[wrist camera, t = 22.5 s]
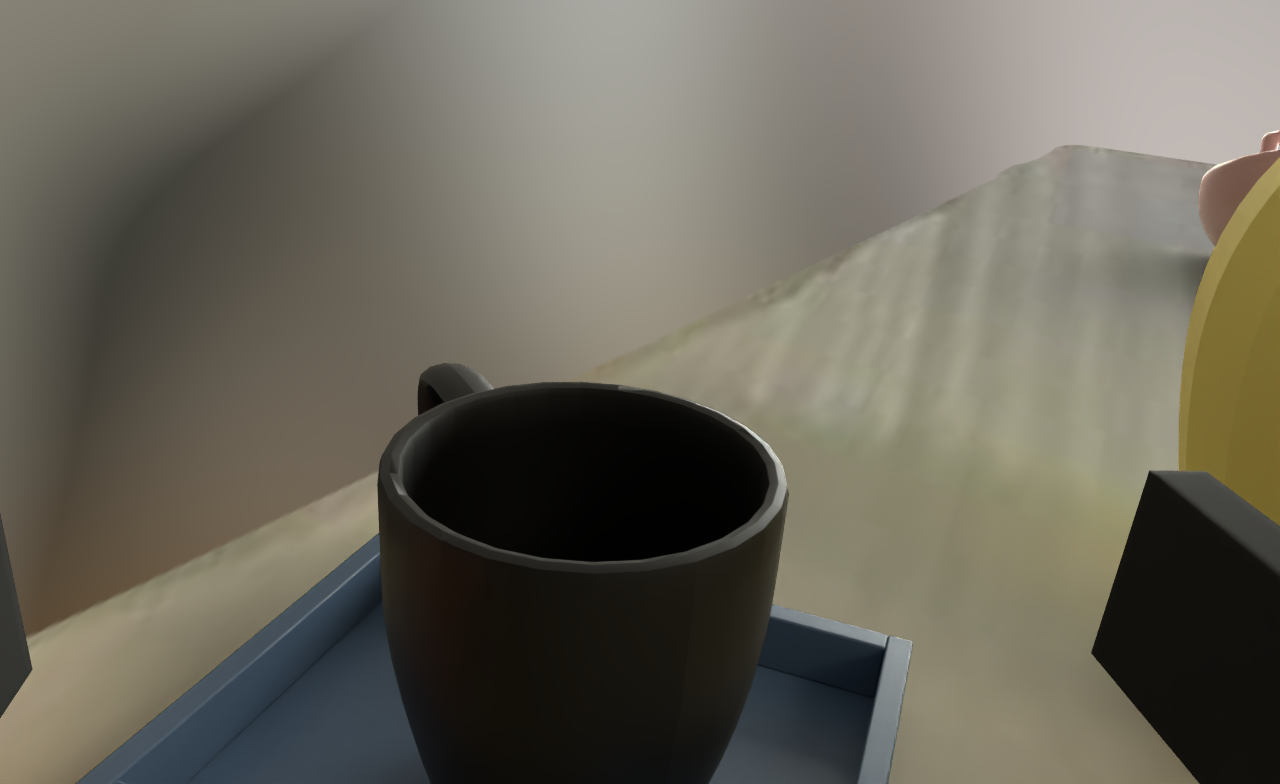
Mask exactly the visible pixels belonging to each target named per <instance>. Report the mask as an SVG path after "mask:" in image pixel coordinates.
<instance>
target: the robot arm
mask: <svg viewBox="0 0 1280 784" xmlns="http://www.w3.org/2000/svg"><path fill="white" fill-rule="evenodd" d="M1091 653H1092V655H1093V656H1094V657H1095V658H1096V659H1097V661H1098V662H1099V663H1100V664H1101V665H1102V667H1103V668H1104V669H1105V670H1106V671H1107V673H1108V674H1109V675H1110V676H1111V677H1112V679H1113V680H1114V681H1115V682H1116V683H1117V685H1118V686H1119V687H1120V688H1121V690H1122V691H1123V692H1124V693H1125V694H1126V696H1127V697H1128V698H1129V699H1130V700H1131V702H1132V703H1133V704H1134V705H1135V706H1136V708H1137V709H1138V710H1139V711H1140V712H1141V714H1142V715H1143V716H1144V717H1145V718H1146V720H1147V721H1148V722H1149V723H1150V724H1151V726H1152V727H1153V728H1154V729H1155V730H1156V732H1157V733H1158V734H1159V735H1160V736H1161V738H1162V739H1163V740H1164V741H1165V743H1166V744H1167V745H1168V746H1169V747H1170V749H1171V750H1172V751H1173V752H1174V753H1175V755H1176V756H1177V757H1178V758H1179V759H1180V761H1181V762H1182V763H1183V764H1184V765H1185V767H1186V768H1187V769H1188V770H1189V771H1190V773H1191V774H1192V775H1193V776H1194V777H1195V779H1196V780H1197V781H1198V782H1199V783H1200V784H1280V526H1279V525H1278V524H1276V523H1275V522H1274V521H1272V520H1271V519H1270V518H1268V517H1267V516H1266V515H1264V514H1263V513H1262V512H1260V511H1259V510H1258V509H1256V508H1255V507H1254V506H1252V505H1251V504H1250V503H1248V502H1247V501H1246V500H1244V499H1243V498H1242V497H1240V496H1239V495H1238V494H1236V493H1235V492H1234V491H1232V490H1231V489H1229V488H1228V487H1227V486H1225V485H1224V484H1223V483H1221V482H1220V481H1219V480H1217V479H1216V478H1215V477H1213V476H1212V475H1211V474H1209V473H1208V472H1207V471H1149V474H1148V477H1147V480H1146V483H1145V486H1144V489H1143V492H1142V496H1141V499H1140V502H1139V505H1138V508H1137V511H1136V514H1135V517H1134V521H1133V524H1132V527H1131V530H1130V533H1129V536H1128V539H1127V542H1126V546H1125V549H1124V552H1123V555H1122V558H1121V561H1120V564H1119V568H1118V571H1117V574H1116V577H1115V580H1114V583H1113V586H1112V589H1111V593H1110V596H1109V599H1108V602H1107V605H1106V608H1105V611H1104V615H1103V618H1102V621H1101V624H1100V627H1099V630H1098V633H1097V636H1096V640H1095V643H1094V646H1093V649H1092V652H1091ZM31 671H32V665H31V660H30V655H29V651H28V646H27V641H26V636H25V631H24V626H23V622H22V617H21V612H20V607H19V602H18V598H17V593H16V588H15V583H14V578H13V573H12V568H11V564H10V560H9V554H8V549H7V544H6V539H5V535H4V530H3V525H2V520H1V515H0V718H1V716H2V715H3V713H4V712H5V710H6V709H7V707H8V706H9V704H10V703H11V701H12V700H13V698H14V697H15V695H16V694H17V692H18V691H19V689H20V688H21V686H22V685H23V683H24V682H25V680H26V679H27V677H28V676H29V674H30V672H31Z"/></svg>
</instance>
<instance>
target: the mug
mask: <svg viewBox="0 0 1280 784" xmlns="http://www.w3.org/2000/svg"><path fill="white" fill-rule="evenodd" d="M377 486H378V511H379V537H380V563H381V582H382V600H383V615H384V621H385V626H386V632H387V638H388V643H389V649H390V654H391V660H392V664H393V668H394V672H395V675H396V679H397V683H398V687H399V691H400V695H401V699H402V702H403V705H404V709H405V712H406V715H407V718H408V721H409V725H410V728H411V731H412V734H413V737H414V740H415V743H416V746H417V749H418V752H419V755H420V758H421V761H422V763H423V766H424V768H425V771H426V773H427V776H428V778H429V780H430V783H431V784H709V783H710V781H711V779H712V777H713V775H714V773H715V771H716V769H717V768H718V766H719V764H720V762H721V760H722V758H723V755H724V753H725V751H726V749H727V746H728V744H729V742H730V740H731V738H732V735H733V733H734V731H735V729H736V726H737V724H738V721H739V718H740V716H741V713H742V710H743V708H744V705H745V702H746V700H747V697H748V694H749V692H750V689H751V686H752V682H753V679H754V675H755V672H756V668H757V665H758V661H759V658H760V654H761V651H762V647H763V644H764V640H765V636H766V632H767V627H768V623H769V619H770V613H771V607H772V601H773V595H774V589H775V583H776V577H777V571H778V564H779V557H780V550H781V544H782V537H783V530H784V523H785V517H786V510H787V503H788V497H789V493H788V488H787V483H786V479H785V474H784V469H783V465H782V464H781V462H780V461H779V459H778V458H777V456H776V455H775V453H774V452H773V451H772V449H771V448H770V446H769V445H768V444H767V443H766V442H764V441H763V440H762V439H761V438H760V437H758V436H757V435H756V434H755V433H754V432H753V431H751V430H750V429H749V428H748V427H746V426H744V425H742V424H741V423H739V422H737V421H735V420H734V419H732V418H730V417H728V416H726V415H725V414H723V413H721V412H718V411H716V410H713V409H711V408H708V407H706V406H703V405H701V404H698V403H696V402H693V401H691V400H687V399H683V398H680V397H676V396H672V395H669V394H665V393H661V392H657V391H652V390H646V389H641V388H635V387H629V386H623V385H614V384H601V383H588V382H542V383H532V384H522V385H513V386H505V387H500V388H496V389H494V388H493V387H492V386H491V385H490V384H489V383H488V382H487V381H486V379H485V378H484V377H483V376H481V375H480V374H479V373H478V372H477V371H476V370H474V369H472V368H469V367H466V366H463V365H461V364H450V363H443V364H439V365H435V366H431V367H429V368H428V369H427V370H426V371H424V372H423V373H422V374H421V376H420V379H419V386H418V416H417V417H415V418H414V419H412V420H411V421H410V422H409V423H408V424H406V425H405V426H404V427H403V428H402V429H401V430H399V431H398V432H397V433H396V434H395V435H394V436H393V438H392V440H391V441H390V443H389V445H388V446H387V448H386V449H385V451H384V453H383V454H382V457H381V460H380V465H379V474H378V484H377Z"/></svg>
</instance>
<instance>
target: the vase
mask: <svg viewBox="0 0 1280 784" xmlns="http://www.w3.org/2000/svg"><path fill="white" fill-rule="evenodd" d="M1179 471H1207V472H1208V473H1209V474H1211V475H1212V476H1213V477H1215V478H1216V479H1217V480H1219V481H1220V482H1221V483H1223V484H1224V485H1225V486H1227V487H1228V488H1229V489H1231V490H1232V491H1234V492H1235V493H1236V494H1238V495H1239V496H1240V497H1242V498H1243V499H1244V500H1246V501H1247V502H1248V503H1250V504H1251V505H1252V506H1254V507H1255V508H1256V509H1258V510H1259V511H1260V512H1262V513H1263V514H1264V515H1266V516H1267V517H1268V518H1270V519H1271V520H1272V521H1274V522H1275V523H1276V524H1278V525H1279V526H1280V157H1279V158H1278V159H1277V160H1276V161H1275V163H1274V164H1273V165H1272V166H1271V167H1270V168H1269V169H1268V170H1267V171H1266V172H1265V173H1264V174H1263V175H1262V176H1261V178H1260V179H1259V180H1258V181H1257V182H1256V183H1255V185H1254V186H1253V187H1252V189H1251V190H1250V191H1249V193H1248V194H1247V195H1246V197H1245V198H1244V199H1243V201H1242V202H1241V203H1240V205H1239V206H1238V207H1237V209H1236V211H1235V212H1234V214H1233V216H1232V217H1231V219H1230V221H1229V222H1228V224H1227V225H1226V227H1225V229H1224V230H1223V232H1222V234H1221V236H1220V238H1219V240H1218V242H1217V244H1216V246H1215V248H1214V250H1213V252H1212V255H1211V257H1210V259H1209V261H1208V263H1207V266H1206V269H1205V271H1204V274H1203V277H1202V280H1201V282H1200V285H1199V288H1198V291H1197V295H1196V298H1195V302H1194V306H1193V309H1192V313H1191V317H1190V322H1189V328H1188V333H1187V339H1186V344H1185V352H1184V360H1183V368H1182V380H1181V392H1180V411H1179Z"/></svg>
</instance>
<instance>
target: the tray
mask: <svg viewBox="0 0 1280 784" xmlns="http://www.w3.org/2000/svg"><path fill="white" fill-rule="evenodd" d="M912 646H913V643H912V642H911V641H909V640H905V639H901V638H897V637H894V636H889V637H887V635H886V634H882V633H878V632H875V631H871V630H867V629H863V628H860V627H856V626H852V625H848V624H845V623H841V622H837V621H833V620H830V619H826V618H822V617H818V616H815V615H811V614H807V613H803V612H800V611H796V610H792V609H788V608H785V607H781V606H777V605H773V604H772V607H771V613H770V619H769V623H768V627H767V632H766V636H765V640H764V644H763V647H762V651H761V654H760V658H759V661H758V665H757V668H756V672H755V675H754V679H753V682H752V686H751V689H750V692H749V694H748V697H747V700H746V702H745V705H744V708H743V710H742V713H741V716H740V718H739V721H738V724H737V726H736V729H735V731H734V733H733V735H732V738H731V740H730V742H729V744H728V746H727V749H726V751H725V753H724V755H723V758H722V760H721V762H720V764H719V766H718V768H717V769H716V771H715V773H714V775H713V777H712V779H711V781H710V783H709V784H888V781H889V775H890V769H891V764H892V758H893V752H894V747H895V741H896V736H897V730H898V724H899V719H900V713H901V708H902V702H903V696H904V691H905V685H906V680H907V674H908V668H909V663H910V657H911V652H912ZM76 784H431V783H430V780H429V778H428V776H427V773H426V771H425V768H424V766H423V763H422V761H421V758H420V755H419V752H418V749H417V746H416V743H415V740H414V737H413V734H412V731H411V728H410V725H409V721H408V718H407V715H406V712H405V709H404V705H403V702H402V699H401V695H400V691H399V687H398V683H397V679H396V675H395V672H394V668H393V664H392V660H391V654H390V649H389V643H388V638H387V632H386V626H385V621H384V615H383V600H382V582H381V563H380V537H379V533H378V534H377V535H376V536H374V537H373V538H372V539H371V540H370V541H368V542H367V543H366V544H365V545H364V546H362V547H361V548H360V549H359V550H358V551H356V552H355V553H354V554H353V555H351V556H350V557H349V558H348V559H347V560H345V561H344V562H343V563H342V564H341V565H339V566H338V567H337V568H336V569H335V570H333V571H332V572H331V573H330V574H328V575H327V576H326V577H325V578H324V579H322V580H321V581H320V582H319V583H318V584H316V585H315V586H314V587H313V588H312V589H310V590H309V591H308V592H307V593H306V594H304V595H303V596H302V597H301V598H299V599H298V600H297V601H296V602H295V603H293V604H292V605H291V606H290V607H289V608H287V609H286V610H285V611H284V612H283V613H281V614H280V615H279V616H278V617H276V618H275V619H274V620H273V621H272V622H270V623H269V624H268V625H267V626H266V627H264V628H263V629H262V630H261V631H260V632H258V633H257V634H256V635H255V636H253V637H252V638H251V639H250V640H249V641H247V642H246V643H245V644H244V645H243V646H241V647H240V648H239V649H238V650H237V651H235V652H234V653H233V654H232V655H231V656H229V657H228V658H227V659H226V660H224V661H223V662H222V663H221V664H220V665H218V666H217V667H216V668H215V669H214V670H212V671H211V672H210V673H209V674H208V675H206V676H205V677H204V678H203V679H201V680H200V681H199V682H198V683H197V684H195V685H194V686H193V687H192V688H191V689H189V690H188V691H187V692H186V693H185V694H183V695H182V696H181V697H180V698H178V699H177V700H176V701H175V702H174V703H172V704H171V705H170V706H169V707H168V708H166V709H165V710H164V711H163V712H162V713H160V714H159V715H158V716H157V717H156V718H154V719H153V720H152V721H151V722H149V723H148V724H147V725H146V726H145V727H143V728H142V729H141V730H140V731H139V732H137V733H136V734H135V735H134V736H133V737H131V738H130V739H129V740H128V741H126V742H125V743H124V744H123V745H122V746H120V747H119V748H118V749H117V750H116V751H114V752H113V753H112V754H111V755H110V756H108V757H107V758H106V759H105V760H103V761H102V762H101V763H100V764H99V765H97V766H96V767H95V768H94V769H93V770H91V771H90V772H89V773H88V774H87V775H85V776H84V777H83V778H82V779H81V780H79V781H78V782H77V783H76Z"/></svg>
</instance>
